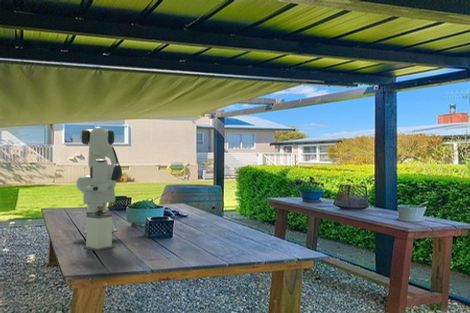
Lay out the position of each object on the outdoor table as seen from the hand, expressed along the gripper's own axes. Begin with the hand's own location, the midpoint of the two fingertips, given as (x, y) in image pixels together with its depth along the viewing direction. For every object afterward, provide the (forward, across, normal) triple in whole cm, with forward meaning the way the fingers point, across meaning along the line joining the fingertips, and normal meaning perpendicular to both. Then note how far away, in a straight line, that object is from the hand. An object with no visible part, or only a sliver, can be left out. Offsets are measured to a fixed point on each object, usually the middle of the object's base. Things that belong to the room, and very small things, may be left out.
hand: (99, 210), depth 251 cm
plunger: (+16, 0, 0) cm, 16 cm away
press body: (+21, 0, 0) cm, 21 cm away
